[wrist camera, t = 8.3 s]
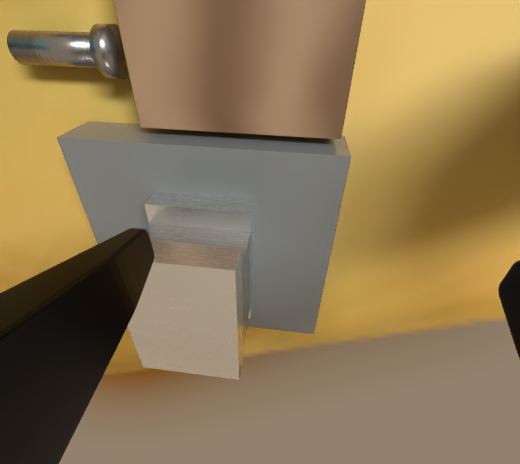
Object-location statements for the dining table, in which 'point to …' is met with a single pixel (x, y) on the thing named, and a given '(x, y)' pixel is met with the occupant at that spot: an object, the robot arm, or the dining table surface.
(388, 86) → the dining table surface
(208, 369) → the block
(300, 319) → the stand
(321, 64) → the stand
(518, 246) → the dining table surface
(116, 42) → the bolt
